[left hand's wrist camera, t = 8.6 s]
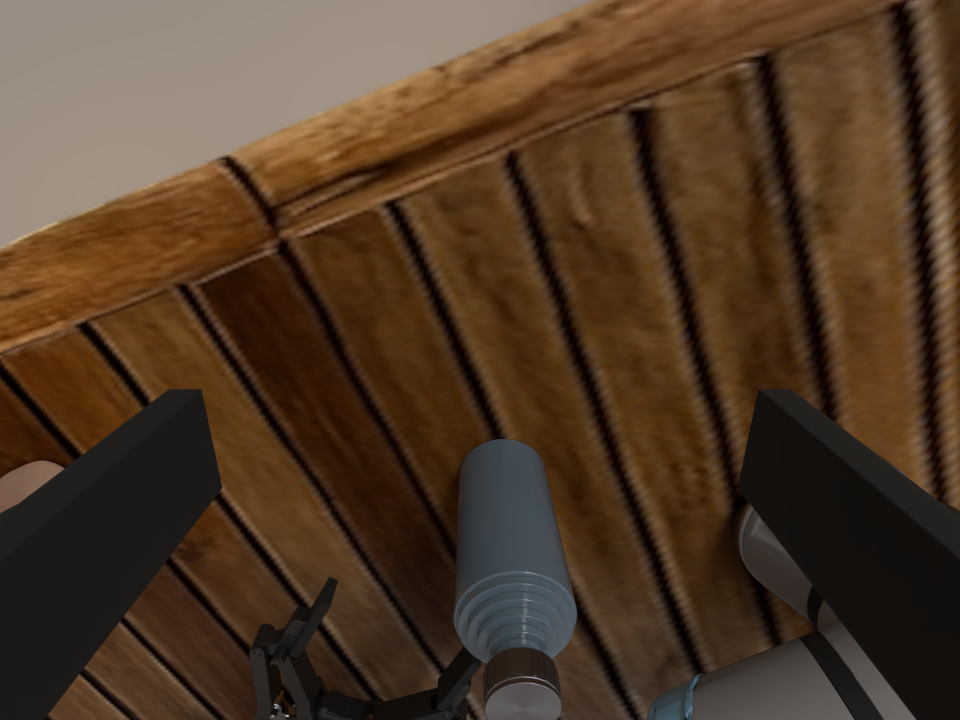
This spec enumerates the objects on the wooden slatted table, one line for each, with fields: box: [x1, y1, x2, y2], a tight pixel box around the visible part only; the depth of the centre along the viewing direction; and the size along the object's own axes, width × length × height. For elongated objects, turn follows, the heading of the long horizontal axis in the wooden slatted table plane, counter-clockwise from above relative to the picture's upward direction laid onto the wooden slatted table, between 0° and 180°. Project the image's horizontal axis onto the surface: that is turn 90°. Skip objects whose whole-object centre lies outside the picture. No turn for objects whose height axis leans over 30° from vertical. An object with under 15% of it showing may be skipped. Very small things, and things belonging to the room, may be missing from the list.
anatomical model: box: [0, 461, 65, 513], centre depth 45 cm, size 13×4×12 cm
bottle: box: [454, 439, 577, 664], centre depth 37 cm, size 8×8×20 cm
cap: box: [483, 647, 562, 720], centre depth 28 cm, size 4×4×2 cm
